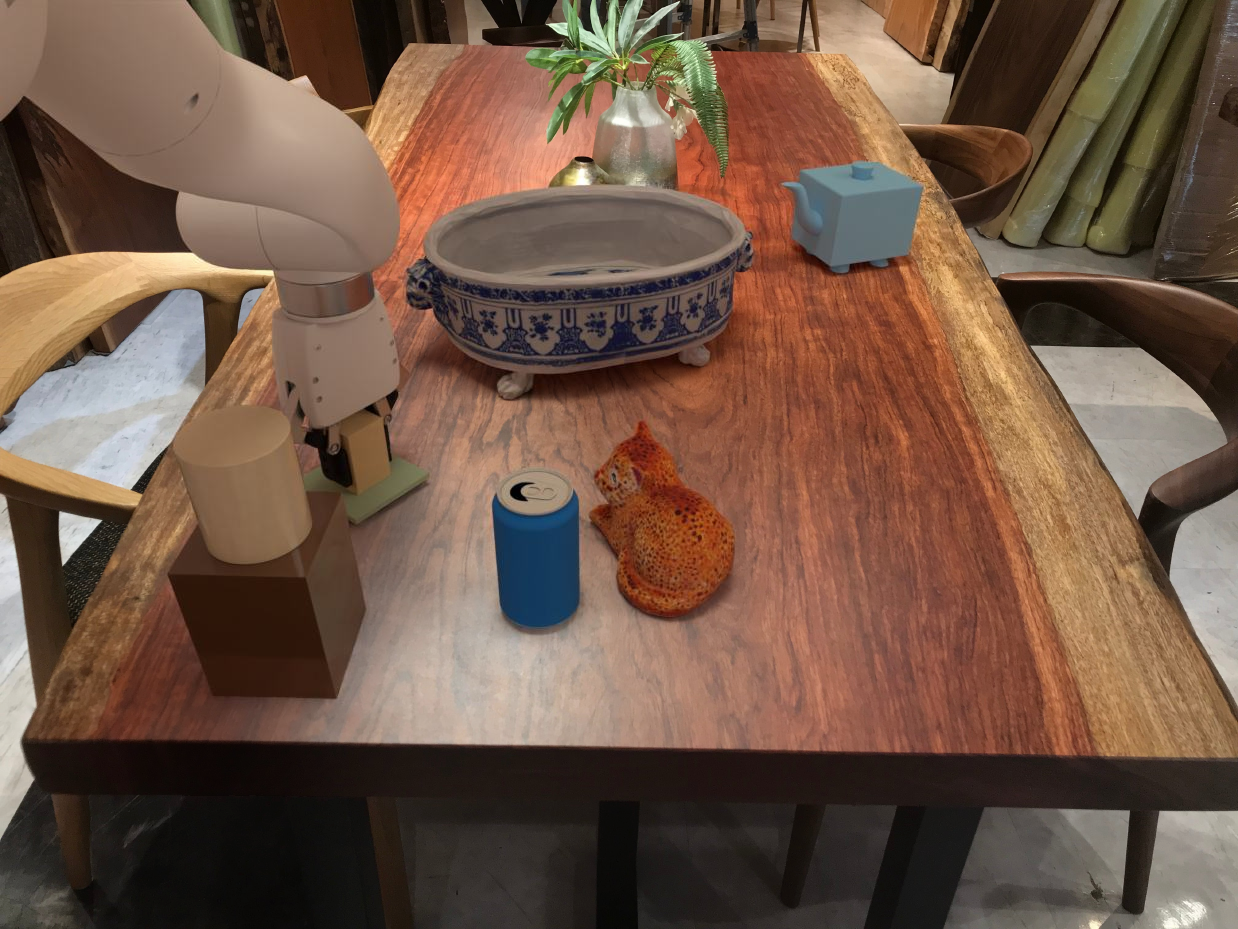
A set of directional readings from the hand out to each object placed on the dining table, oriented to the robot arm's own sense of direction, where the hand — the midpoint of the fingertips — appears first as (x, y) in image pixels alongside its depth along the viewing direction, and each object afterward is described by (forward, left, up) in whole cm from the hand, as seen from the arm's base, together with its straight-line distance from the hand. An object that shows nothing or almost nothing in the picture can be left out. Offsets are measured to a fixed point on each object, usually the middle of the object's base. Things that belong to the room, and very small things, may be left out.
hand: (358, 467), depth 83 cm
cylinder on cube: (-17, -11, -2) cm, 20 cm away
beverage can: (-2, -23, -3) cm, 24 cm away
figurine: (+9, -27, -3) cm, 29 cm away
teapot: (+79, -12, -3) cm, 80 cm away
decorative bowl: (+36, +1, -3) cm, 36 cm away
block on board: (0, 0, -2) cm, 2 cm away
